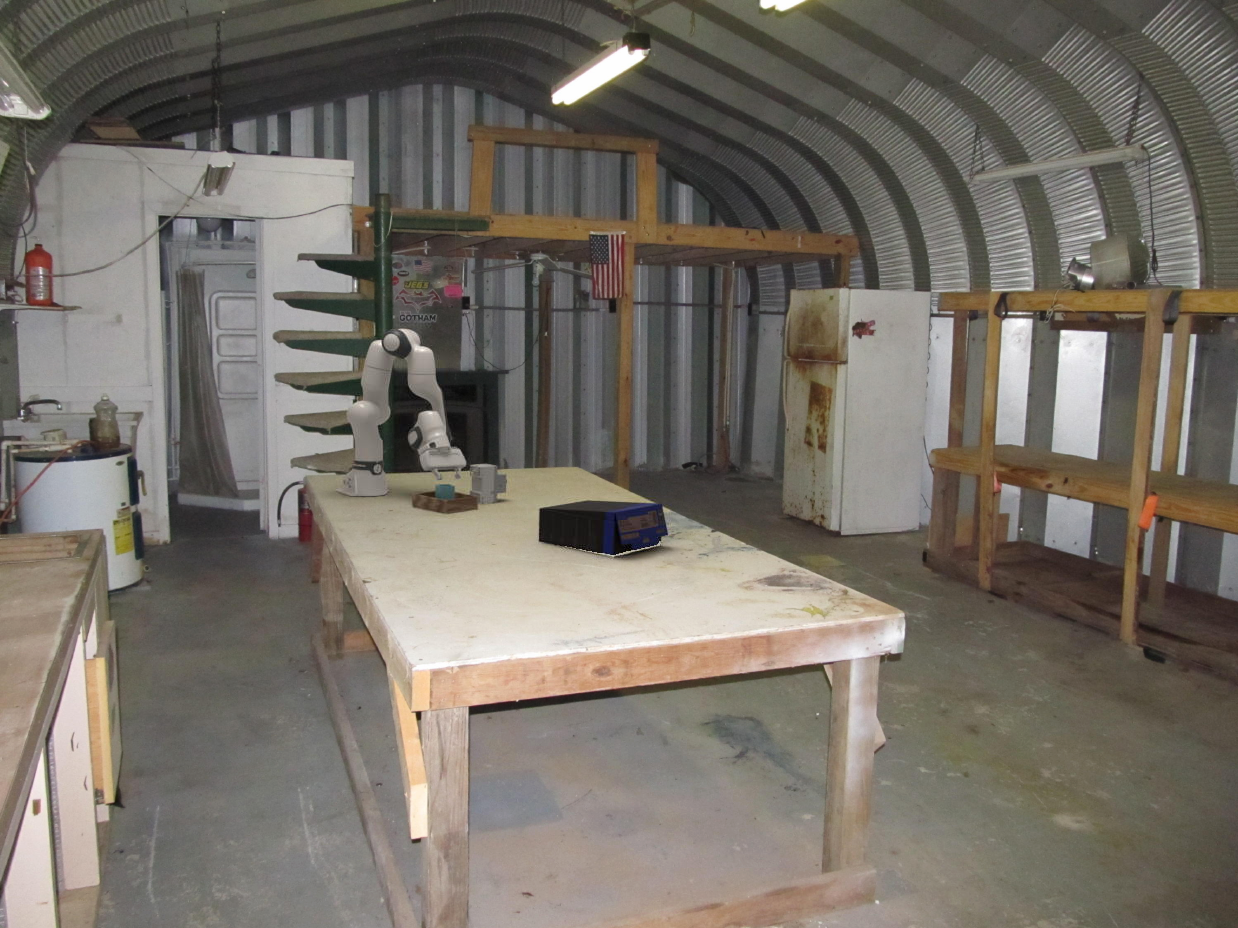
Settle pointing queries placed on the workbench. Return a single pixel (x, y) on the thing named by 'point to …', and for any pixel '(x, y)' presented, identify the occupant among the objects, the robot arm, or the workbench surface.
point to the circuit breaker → (487, 482)
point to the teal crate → (445, 491)
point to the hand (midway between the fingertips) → (449, 479)
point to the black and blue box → (603, 525)
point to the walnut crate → (445, 502)
